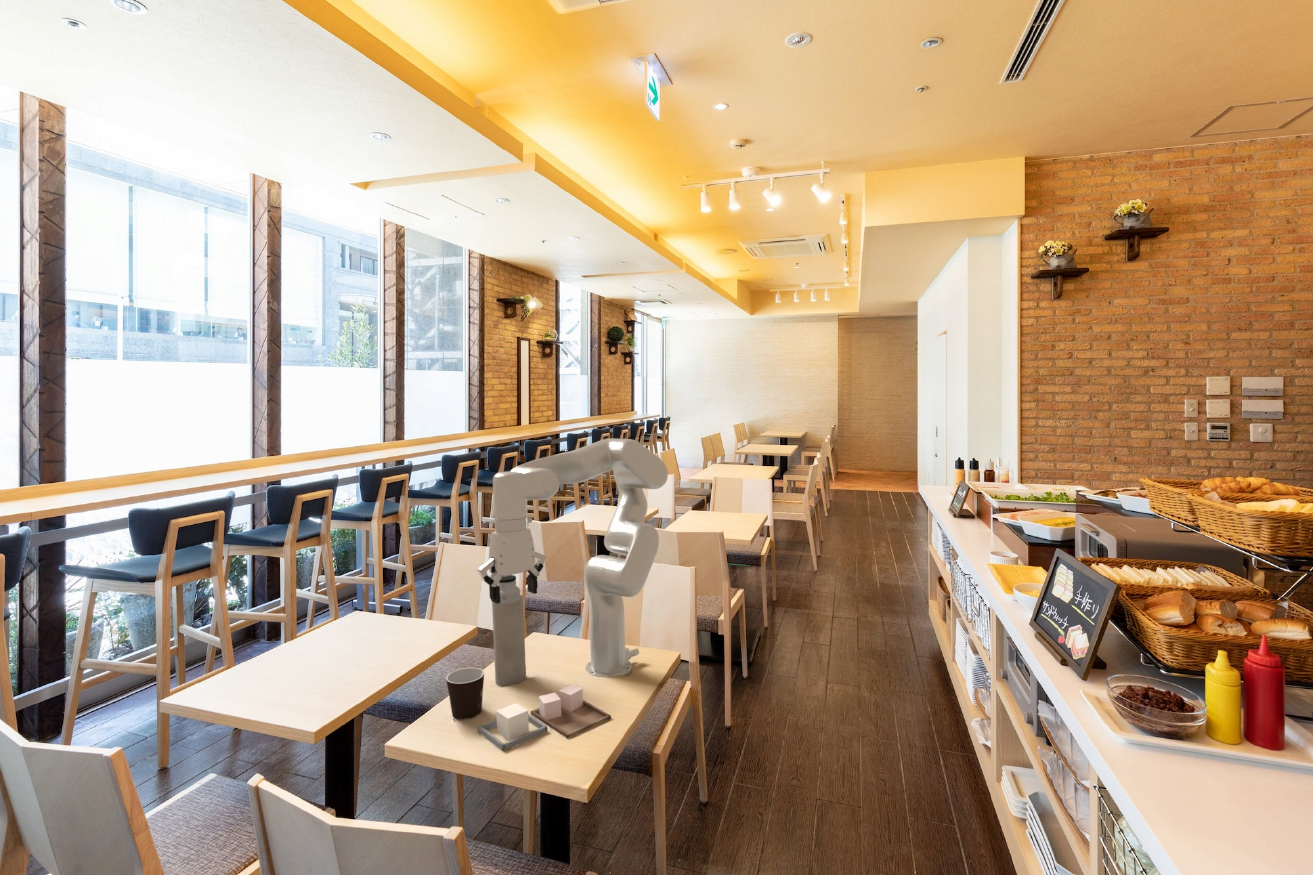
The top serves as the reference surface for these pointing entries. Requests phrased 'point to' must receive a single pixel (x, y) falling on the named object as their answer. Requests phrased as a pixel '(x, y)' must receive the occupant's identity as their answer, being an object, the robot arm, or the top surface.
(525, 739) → the slate dish
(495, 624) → the thermos bottle
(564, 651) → the top surface
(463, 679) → the coffee mug
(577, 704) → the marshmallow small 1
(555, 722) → the walnut tray
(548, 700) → the small marshmallow
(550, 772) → the top surface
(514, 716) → the cream white cube
